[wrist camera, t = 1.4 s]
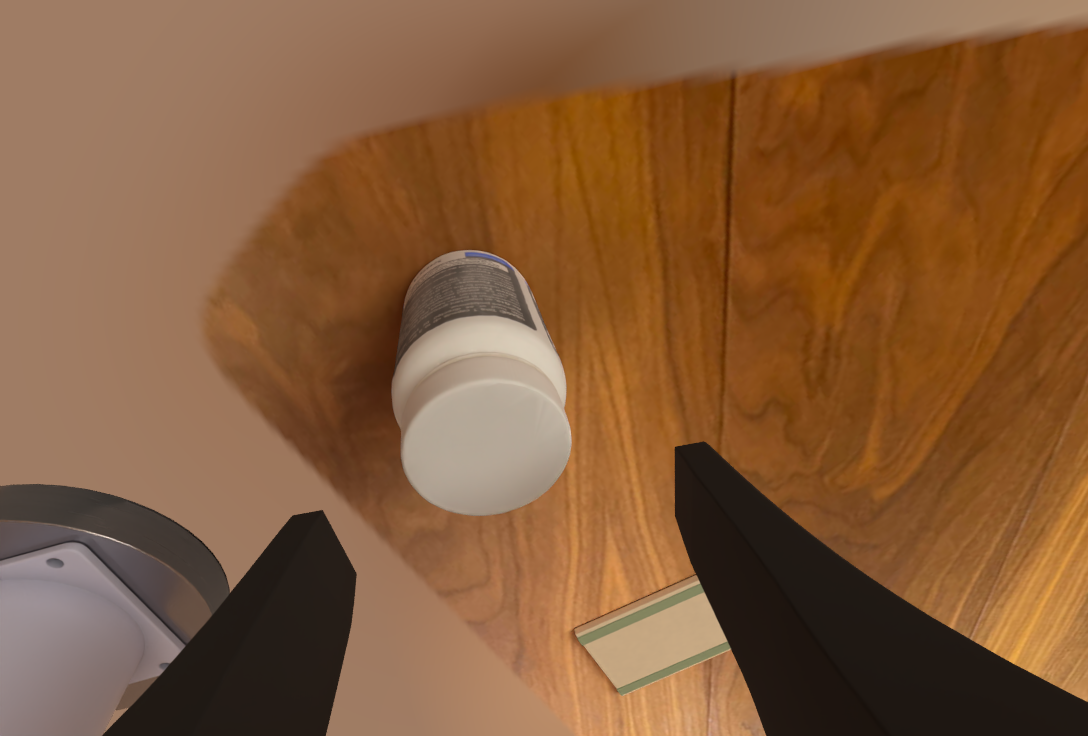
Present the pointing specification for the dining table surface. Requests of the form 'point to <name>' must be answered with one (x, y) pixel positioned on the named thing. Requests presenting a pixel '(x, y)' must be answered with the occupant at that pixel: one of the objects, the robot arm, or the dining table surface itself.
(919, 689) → the robot arm
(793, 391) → the dining table surface
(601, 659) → the striped square coaster
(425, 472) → the pill bottle
